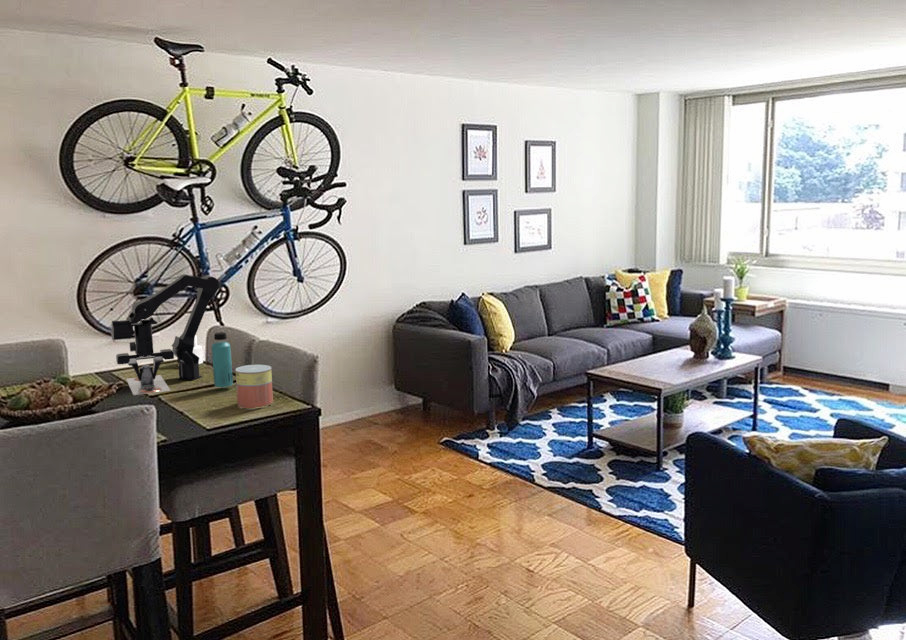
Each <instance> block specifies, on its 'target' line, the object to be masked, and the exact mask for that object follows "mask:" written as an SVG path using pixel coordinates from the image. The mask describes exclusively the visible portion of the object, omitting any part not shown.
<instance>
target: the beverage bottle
mask: <svg viewBox="0 0 906 640" xmlns="http://www.w3.org/2000/svg"><path fill="white" fill-rule="evenodd" d="M213 338H214V339H213V340H216V342H214V343H213V344H212V345H211V351H212V352H211V353H212V354H211V355H212V369H213V372H212V376H213V385H214V386H215V387H216V388H228V387H232V386H233V384H234V377H233V365H232V351H231V344H230V343H229V342H228V341H223V340H227V339H228V338H227V333H226V332H215V333H214V337H213Z"/></svg>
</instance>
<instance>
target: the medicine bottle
mask: <svg viewBox="0 0 906 640" xmlns="http://www.w3.org/2000/svg"><path fill="white" fill-rule="evenodd" d="M193 353H194V354H195V355H196V356H198V357H199V365H202V364H203V363H204V355H203V353H204V352H203V346H202V345H198V336H197V334H196V335H195V338H194V349H193ZM176 358H177V357H176ZM179 362H181V361H180V360H179V358H177V366H179Z"/></svg>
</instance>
